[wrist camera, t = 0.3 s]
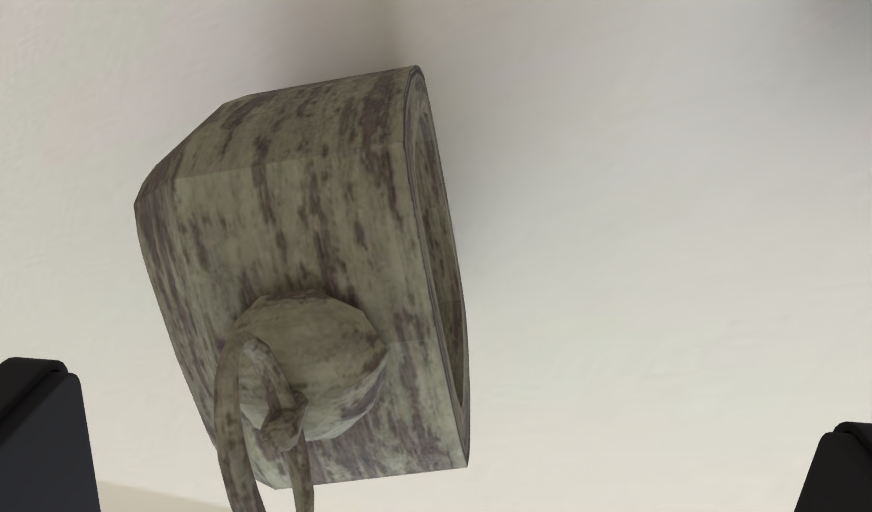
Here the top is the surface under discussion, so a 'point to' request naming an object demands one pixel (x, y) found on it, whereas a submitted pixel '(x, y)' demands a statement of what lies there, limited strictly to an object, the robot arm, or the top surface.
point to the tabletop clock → (314, 285)
